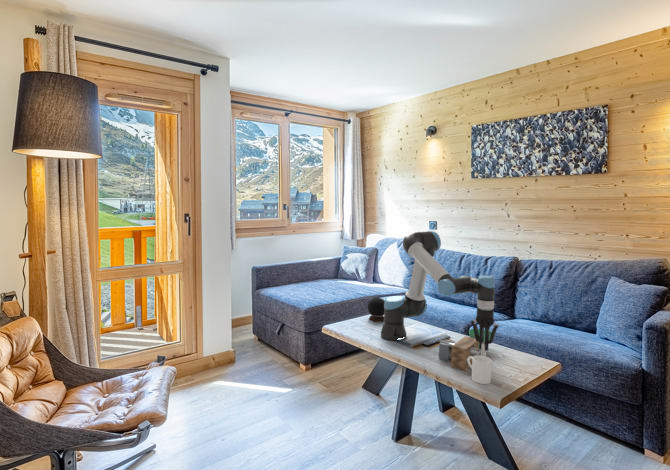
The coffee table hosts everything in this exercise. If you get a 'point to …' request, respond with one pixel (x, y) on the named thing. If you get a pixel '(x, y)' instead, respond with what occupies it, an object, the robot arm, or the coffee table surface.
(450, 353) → the cradle
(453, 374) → the coffee table surface
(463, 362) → the beam
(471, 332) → the mug
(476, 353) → the axle
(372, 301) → the black ball on base
